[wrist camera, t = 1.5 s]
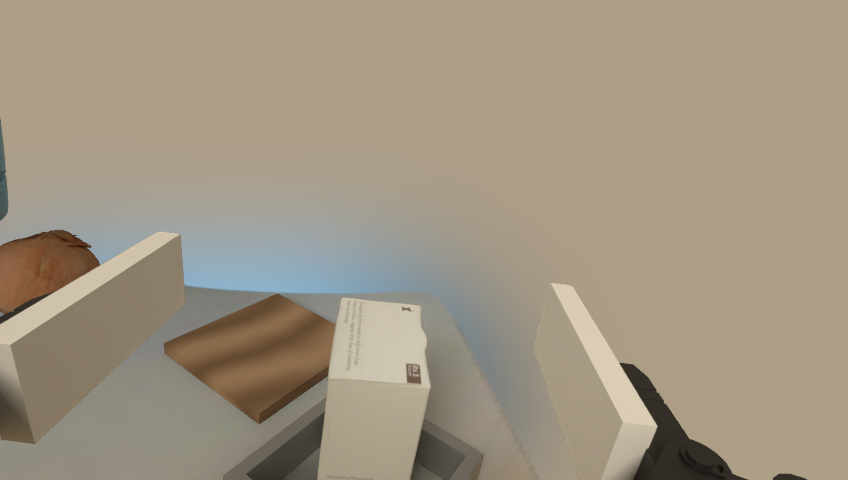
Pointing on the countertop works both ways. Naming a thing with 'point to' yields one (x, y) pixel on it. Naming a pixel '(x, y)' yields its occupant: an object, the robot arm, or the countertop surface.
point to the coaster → (259, 354)
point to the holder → (296, 442)
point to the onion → (41, 266)
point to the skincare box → (374, 392)
